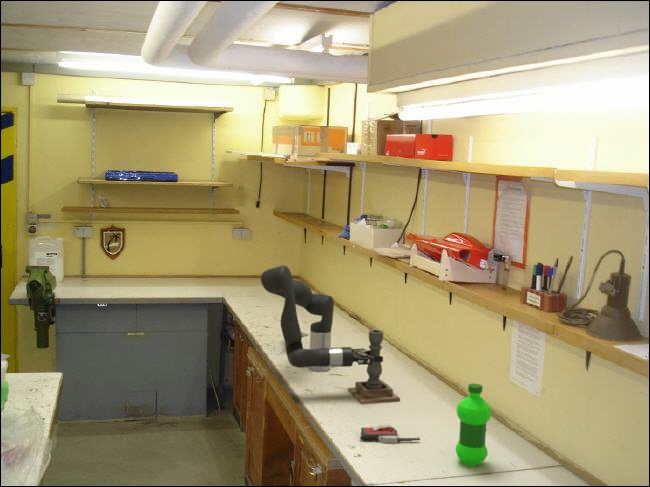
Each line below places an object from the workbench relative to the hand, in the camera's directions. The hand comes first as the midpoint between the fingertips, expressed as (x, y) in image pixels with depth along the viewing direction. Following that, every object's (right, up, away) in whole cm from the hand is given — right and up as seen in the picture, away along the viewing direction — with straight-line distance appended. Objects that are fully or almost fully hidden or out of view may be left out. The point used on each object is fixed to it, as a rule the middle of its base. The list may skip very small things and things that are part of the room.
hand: (379, 356), depth 288 cm
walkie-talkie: (0, -22, -41) cm, 47 cm away
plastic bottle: (+24, -25, -59) cm, 68 cm away
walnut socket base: (-2, -16, +2) cm, 16 cm away
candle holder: (-2, -15, +1) cm, 15 cm away
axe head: (-38, -7, +67) cm, 77 cm away
